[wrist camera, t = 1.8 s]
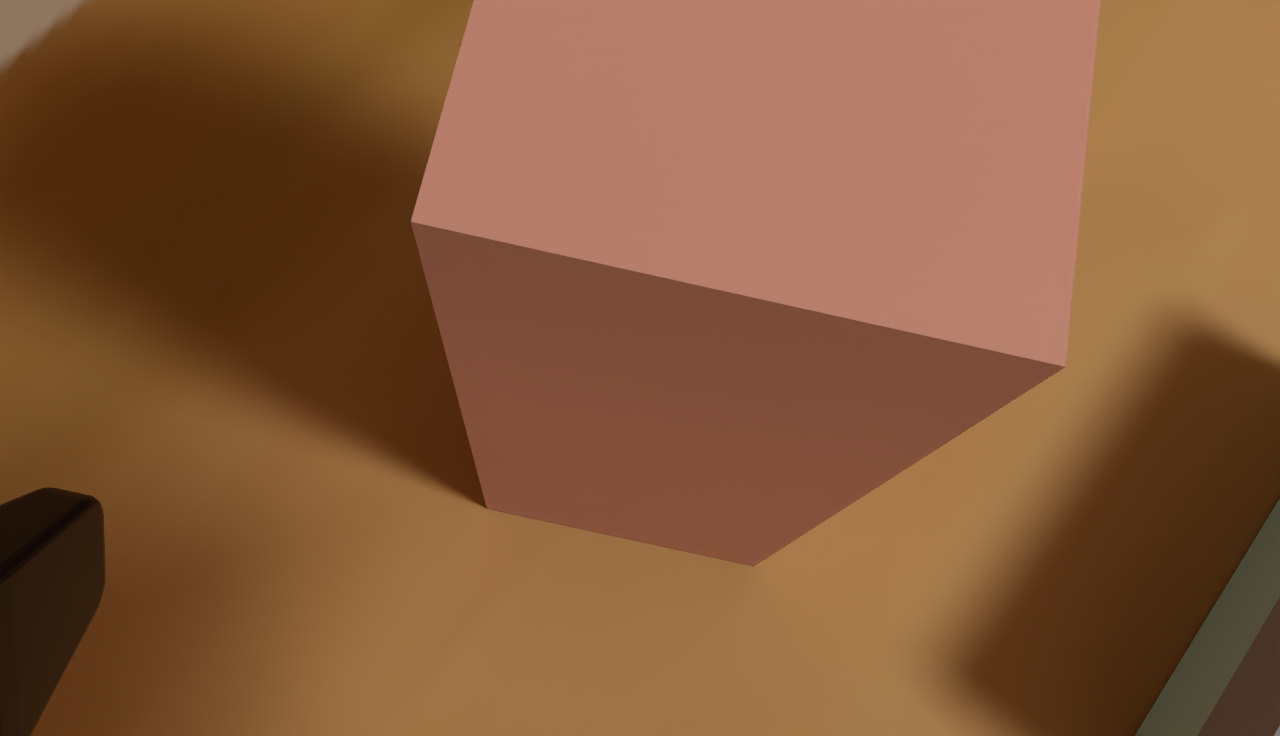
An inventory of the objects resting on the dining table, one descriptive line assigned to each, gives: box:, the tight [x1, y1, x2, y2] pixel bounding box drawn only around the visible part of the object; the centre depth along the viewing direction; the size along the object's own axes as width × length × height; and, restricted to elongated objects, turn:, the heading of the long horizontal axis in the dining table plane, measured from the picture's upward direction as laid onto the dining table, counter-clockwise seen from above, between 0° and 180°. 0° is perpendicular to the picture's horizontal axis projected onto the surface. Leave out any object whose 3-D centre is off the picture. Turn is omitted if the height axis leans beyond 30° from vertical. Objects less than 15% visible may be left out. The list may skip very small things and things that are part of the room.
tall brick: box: [411, 0, 1101, 566], centre depth 15 cm, size 5×5×13 cm
